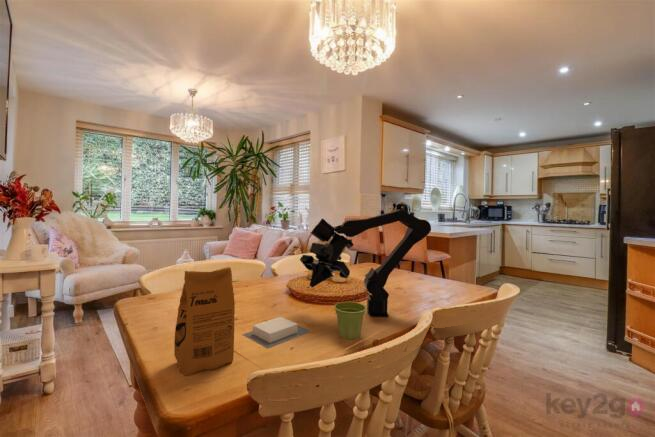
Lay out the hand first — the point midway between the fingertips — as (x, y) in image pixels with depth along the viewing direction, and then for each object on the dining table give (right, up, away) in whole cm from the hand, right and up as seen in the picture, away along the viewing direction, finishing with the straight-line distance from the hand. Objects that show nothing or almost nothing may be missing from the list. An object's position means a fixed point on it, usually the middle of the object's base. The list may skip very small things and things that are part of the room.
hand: (311, 286), depth 97 cm
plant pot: (+12, -13, -9) cm, 20 cm away
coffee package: (-24, -12, -27) cm, 38 cm away
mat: (-9, -12, -10) cm, 18 cm away
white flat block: (-6, -10, -7) cm, 14 cm away
